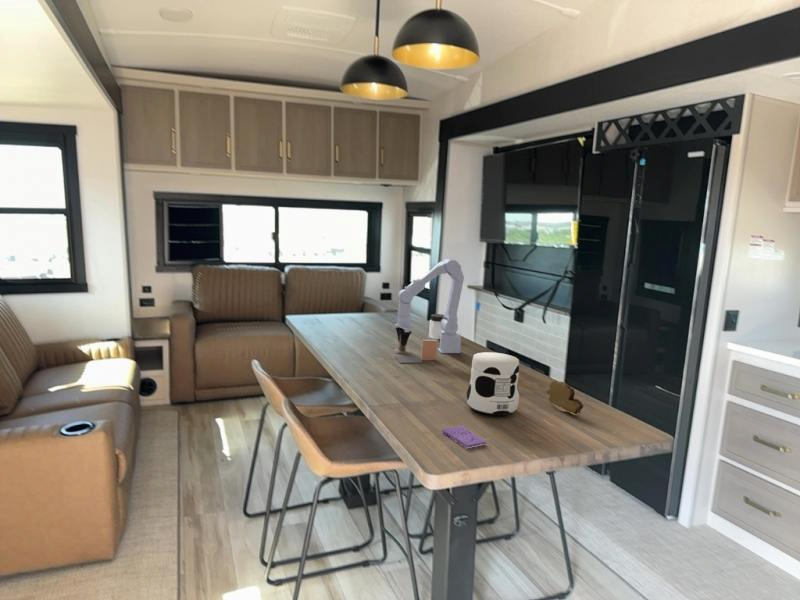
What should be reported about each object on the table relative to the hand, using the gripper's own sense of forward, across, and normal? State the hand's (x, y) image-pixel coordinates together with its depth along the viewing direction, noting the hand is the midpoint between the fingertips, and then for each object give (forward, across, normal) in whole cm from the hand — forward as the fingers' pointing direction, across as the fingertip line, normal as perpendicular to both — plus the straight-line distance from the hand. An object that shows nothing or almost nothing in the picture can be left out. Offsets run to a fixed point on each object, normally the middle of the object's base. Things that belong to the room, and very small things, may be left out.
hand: (402, 344), depth 250 cm
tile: (+3, +15, +8) cm, 18 cm away
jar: (+4, -27, +26) cm, 38 cm away
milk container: (+4, +77, +12) cm, 78 cm away
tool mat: (+3, +16, -1) cm, 16 cm away
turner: (+3, +1, 0) cm, 4 cm away
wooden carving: (+4, +80, +37) cm, 88 cm away
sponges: (+4, +98, -6) cm, 99 cm away
